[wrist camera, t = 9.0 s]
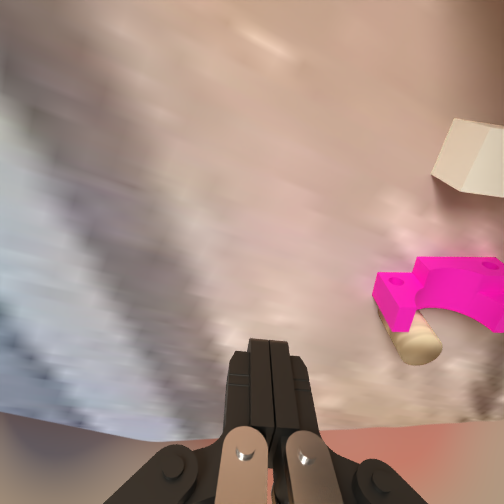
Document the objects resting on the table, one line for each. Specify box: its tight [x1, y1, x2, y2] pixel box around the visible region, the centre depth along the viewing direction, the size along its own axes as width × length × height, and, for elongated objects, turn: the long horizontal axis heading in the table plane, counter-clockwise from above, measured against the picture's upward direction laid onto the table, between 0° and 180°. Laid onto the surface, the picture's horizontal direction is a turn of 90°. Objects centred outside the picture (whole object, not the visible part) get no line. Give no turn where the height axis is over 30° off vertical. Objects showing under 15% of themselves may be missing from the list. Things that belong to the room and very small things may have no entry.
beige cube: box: [431, 118, 504, 198], centre depth 33 cm, size 6×6×6 cm
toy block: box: [372, 257, 504, 333], centre depth 41 cm, size 15×6×8 cm, turn 89°
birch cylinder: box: [378, 309, 442, 365], centre depth 43 cm, size 5×5×8 cm
